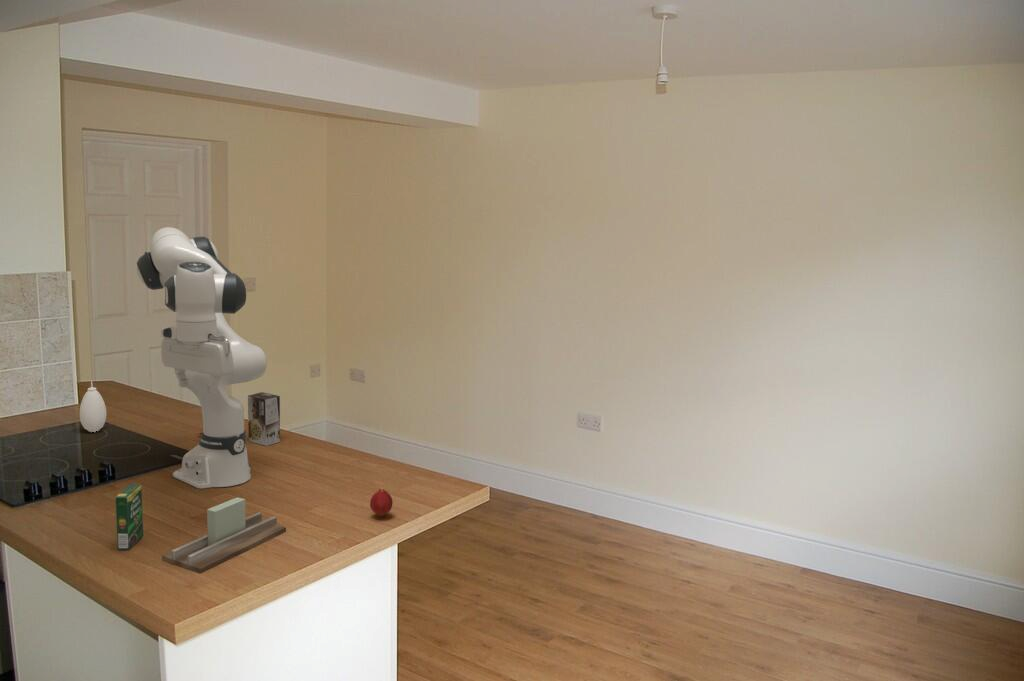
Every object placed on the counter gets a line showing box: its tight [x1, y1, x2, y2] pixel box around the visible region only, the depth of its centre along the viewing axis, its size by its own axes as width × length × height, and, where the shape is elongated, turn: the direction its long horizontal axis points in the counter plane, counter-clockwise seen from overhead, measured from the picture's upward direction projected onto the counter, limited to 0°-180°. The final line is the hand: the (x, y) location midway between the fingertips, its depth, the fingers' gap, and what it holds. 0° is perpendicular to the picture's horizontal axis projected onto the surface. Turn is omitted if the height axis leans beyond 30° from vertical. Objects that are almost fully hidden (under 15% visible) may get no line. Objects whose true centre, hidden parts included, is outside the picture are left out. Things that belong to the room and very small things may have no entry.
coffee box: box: [247, 391, 281, 447], centre depth 255 cm, size 9×6×16 cm
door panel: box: [206, 496, 246, 546], centre depth 177 cm, size 2×9×9 cm, turn 154°
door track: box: [161, 511, 287, 574], centre depth 177 cm, size 12×26×3 cm, turn 154°
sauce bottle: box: [79, 379, 107, 433], centre depth 257 cm, size 8×8×18 cm
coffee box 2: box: [115, 483, 144, 551], centre depth 175 cm, size 8×3×13 cm, turn 3°
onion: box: [369, 487, 393, 518], centre depth 197 cm, size 6×6×8 cm
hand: (198, 389), depth 180 cm, fingers open, 8 cm apart
